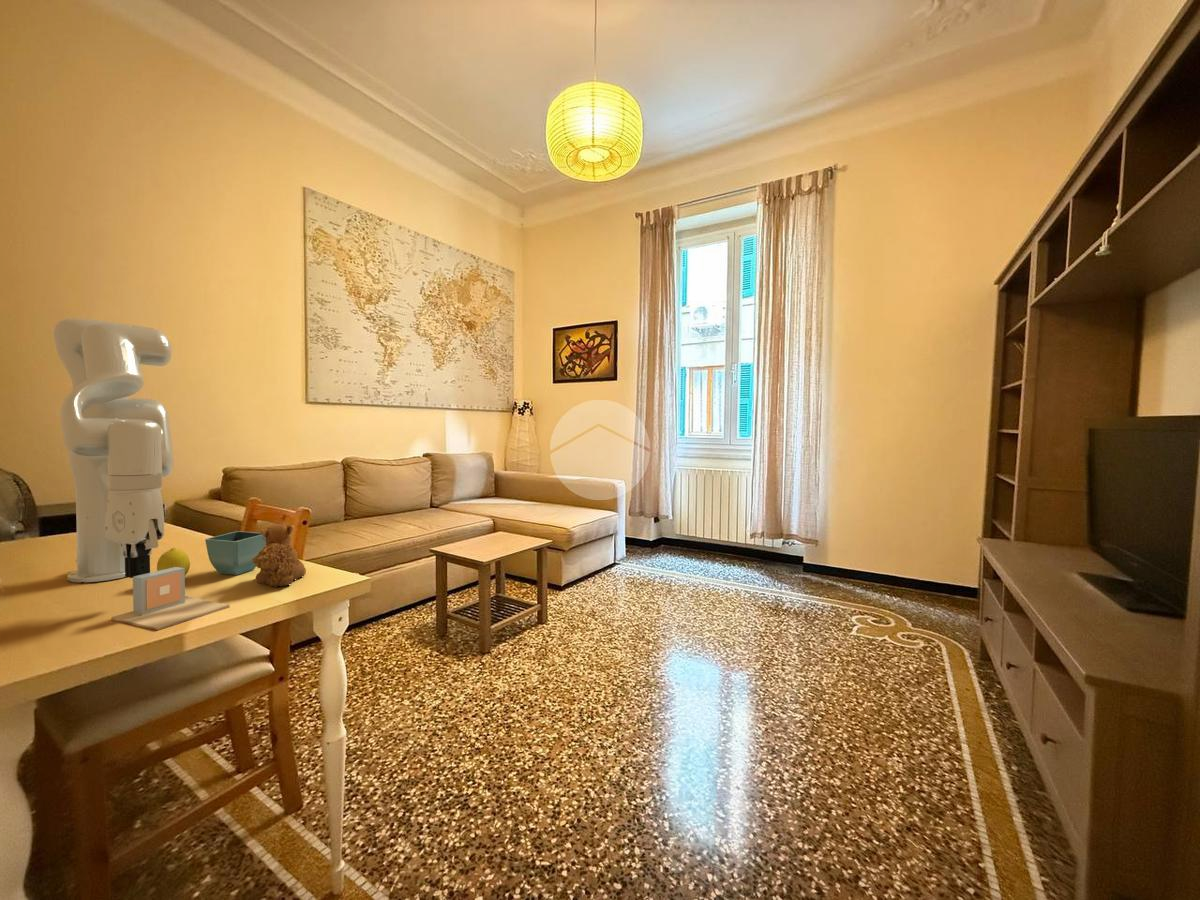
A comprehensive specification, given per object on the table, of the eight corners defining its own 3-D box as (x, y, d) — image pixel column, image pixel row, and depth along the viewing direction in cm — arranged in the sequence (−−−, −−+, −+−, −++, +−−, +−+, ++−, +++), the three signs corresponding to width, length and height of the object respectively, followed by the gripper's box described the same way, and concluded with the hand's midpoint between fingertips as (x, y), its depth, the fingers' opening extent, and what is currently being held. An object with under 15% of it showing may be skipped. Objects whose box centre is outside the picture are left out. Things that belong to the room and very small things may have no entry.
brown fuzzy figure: (306, 571, 119) (306, 519, 118) (303, 588, 107) (303, 530, 106) (257, 576, 114) (257, 522, 113) (248, 595, 102) (248, 534, 101)
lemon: (170, 588, 104) (169, 552, 104) (150, 585, 106) (149, 550, 105) (196, 580, 110) (196, 546, 109) (177, 578, 111) (176, 544, 111)
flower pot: (235, 579, 112) (235, 541, 111) (204, 576, 113) (203, 538, 113) (268, 568, 120) (267, 533, 120) (238, 565, 122) (237, 530, 122)
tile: (133, 613, 90) (132, 576, 89) (176, 601, 96) (176, 566, 96) (142, 615, 89) (142, 578, 88) (185, 602, 95) (185, 568, 95)
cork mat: (111, 619, 88) (111, 617, 88) (185, 597, 99) (185, 596, 99) (157, 630, 83) (157, 628, 83) (229, 606, 95) (229, 604, 95)
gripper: (87, 483, 92) (89, 576, 93) (136, 487, 87) (138, 586, 88) (135, 479, 99) (137, 566, 100) (183, 483, 95) (184, 575, 95)
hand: (137, 575), depth 94 cm, fingers closed
